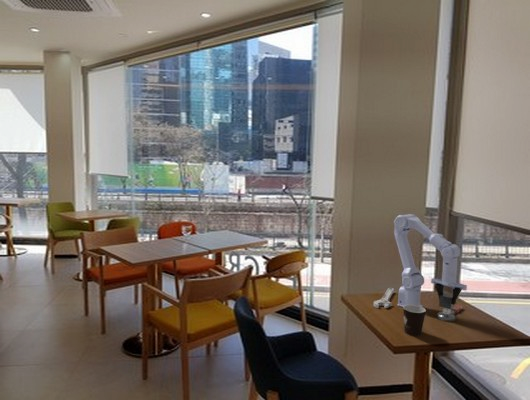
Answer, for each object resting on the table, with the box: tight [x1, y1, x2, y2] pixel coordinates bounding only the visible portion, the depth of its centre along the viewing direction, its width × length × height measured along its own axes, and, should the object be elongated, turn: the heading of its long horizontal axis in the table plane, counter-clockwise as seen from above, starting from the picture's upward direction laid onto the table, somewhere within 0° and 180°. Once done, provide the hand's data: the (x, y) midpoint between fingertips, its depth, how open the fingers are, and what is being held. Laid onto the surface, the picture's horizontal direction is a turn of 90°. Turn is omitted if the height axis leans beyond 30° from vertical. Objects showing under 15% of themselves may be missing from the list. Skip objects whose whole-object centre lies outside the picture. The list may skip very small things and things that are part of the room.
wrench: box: [372, 287, 395, 309], centre depth 207 cm, size 8×2×30 cm
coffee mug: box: [402, 305, 427, 337], centre depth 169 cm, size 12×9×10 cm
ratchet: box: [436, 303, 463, 323], centre depth 189 cm, size 7×22×5 cm, turn 138°
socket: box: [438, 292, 456, 309], centre depth 183 cm, size 5×5×5 cm
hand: (447, 302), depth 184 cm, fingers closed on socket, 5 cm apart
